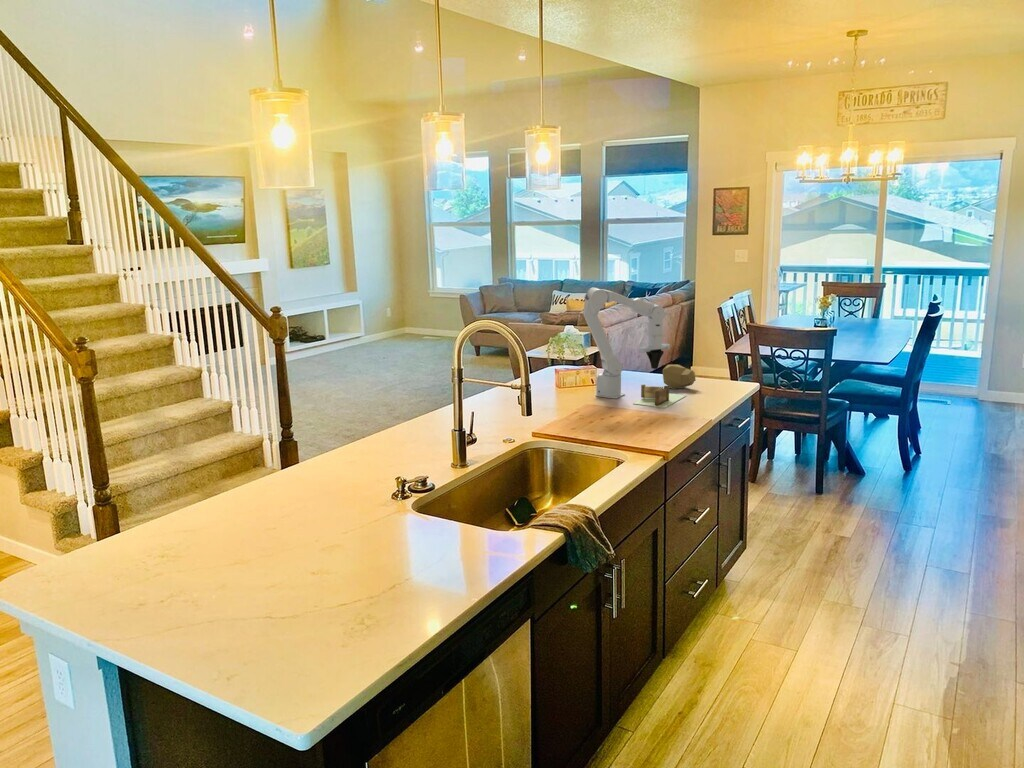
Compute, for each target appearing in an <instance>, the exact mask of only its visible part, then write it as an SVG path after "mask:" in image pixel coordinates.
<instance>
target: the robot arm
mask: <svg viewBox="0 0 1024 768" xmlns="http://www.w3.org/2000/svg"><path fill="white" fill-rule="evenodd" d="M583 298H584V303H583V304H584V305H583V313H582V315H583V317H584V319H585V322H586V324H587V327H588V328H589V331H590V333H591V335H592V337H593V340H594V342H595V345H596V347H597V349H598V351H599V354H600V355H599V356H600V359H601V367H602V369H603V371H602V373H601V372H600V373H598V374H597V377H596V381H595V382H596V383H595V384H596V385H595V386H596V387H595V388H596V391H595V393H596V394H595V397H600V398H609V399H619V398H621V397H624V396H625V394H626V393H623V392H622V372H623V370H624V366H623V365H624V364H623V363H622V361H621V360H619V359H618V356H617V354H616V353H615V352H614V350H613V349H612V346H611V344H610V341H609V340H608V339H609V338H608V337H607V334H606V332H605V329H604V327H603V324H602V323H601V321H600V318H599V316H598V314H599V312H600V310H601V309H602V308H603V307H604V306H605V305H606V303H607V304H610V303H613V302H615V303H617V304H620V305H624V306H625V307H628V308H630V310H631V312H632V313H635V314H638V315H641V316H643V317H647V318H648V322H647V323H648V325H647V344H646V345H645V346H642V347H641V346H640V347H639V353H641V354H644V353H646V355H647V357H648V359H649V363H650V366H651V369H652V370H653V369H654V370H657V369H658V367H659V364H660V361H661V358H662V357H663V355H664V352H665V351H663V350H670V349H671V344H670V343H663V335H664V334H663V332H664V328H663V327H664V322H663V320H664V318H665V316H666V315H667V314H666V312H665V309H664V308H663V307H662V306H660V305H657V304H656V303H655V302H653V301H651V302H650V301H647V300H645V299H644V297H636V298H634V299H631V298H630V297H627V296H625V295H622V294H620V293H617V292H614V291H612V290H608V289H604V288H599V287H596V286H595V287H591V288H589V289H588V290H587V292H586V293H585V294H584V297H583Z"/></svg>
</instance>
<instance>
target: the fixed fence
mask: <svg viewBox="0 0 1024 768" xmlns="http://www.w3.org/2000/svg"><path fill="white" fill-rule="evenodd" d="M669 393H670V387H669V386H668V385H664V386H663V389H661V390H659V391H655V405H656V406H659V404H660V403H661V402H663V401H665V400H669Z"/></svg>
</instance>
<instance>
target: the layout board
mask: <svg viewBox="0 0 1024 768" xmlns="http://www.w3.org/2000/svg"><path fill="white" fill-rule="evenodd" d="M686 397H687V395H685V394H678V393H671V392H669V400H665V401H663V402H661V403H660V404H659V406H656V405H655V398H641V399H639V400H636V402H633V405H636V406H645V407H650V408H651V407H654V408H660V409H666V408H668V407H670V406H671V405H673V404H675V403H678V402H679V401H681V400H682V399H684V398H686Z"/></svg>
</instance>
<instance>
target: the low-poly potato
mask: <svg viewBox="0 0 1024 768" xmlns="http://www.w3.org/2000/svg"><path fill="white" fill-rule="evenodd" d="M662 378H663V383H664V385H665V386H669V388H671V389H673V390H675V389H683V388H686V387H690V386H693V384H694V383H695V382H696V380H697V379H696V372H695V371H694V370H692V369H690V368H686V367H684V366H682V365H681V364H667V365H666V366H665V367H664V368H663V369H662Z"/></svg>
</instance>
